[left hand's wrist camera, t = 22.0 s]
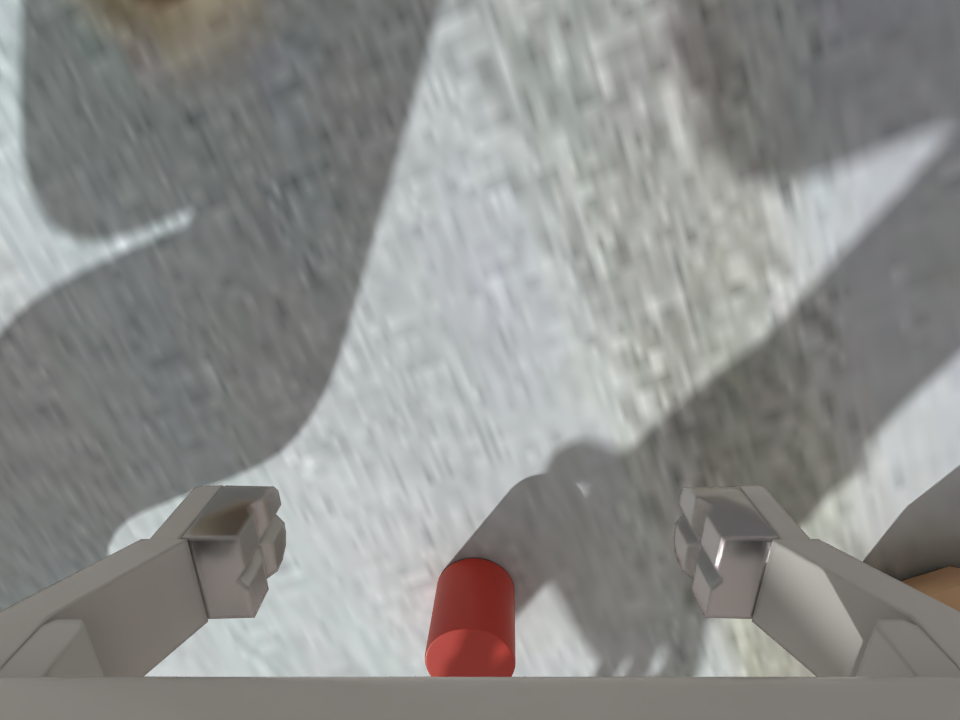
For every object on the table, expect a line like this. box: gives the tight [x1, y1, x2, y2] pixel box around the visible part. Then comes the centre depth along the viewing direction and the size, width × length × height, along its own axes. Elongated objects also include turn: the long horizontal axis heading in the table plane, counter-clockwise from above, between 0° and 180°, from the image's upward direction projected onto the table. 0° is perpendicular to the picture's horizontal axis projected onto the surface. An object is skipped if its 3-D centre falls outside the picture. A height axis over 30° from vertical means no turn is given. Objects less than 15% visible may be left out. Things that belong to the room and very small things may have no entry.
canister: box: [425, 558, 515, 677], centre depth 27 cm, size 4×4×5 cm
